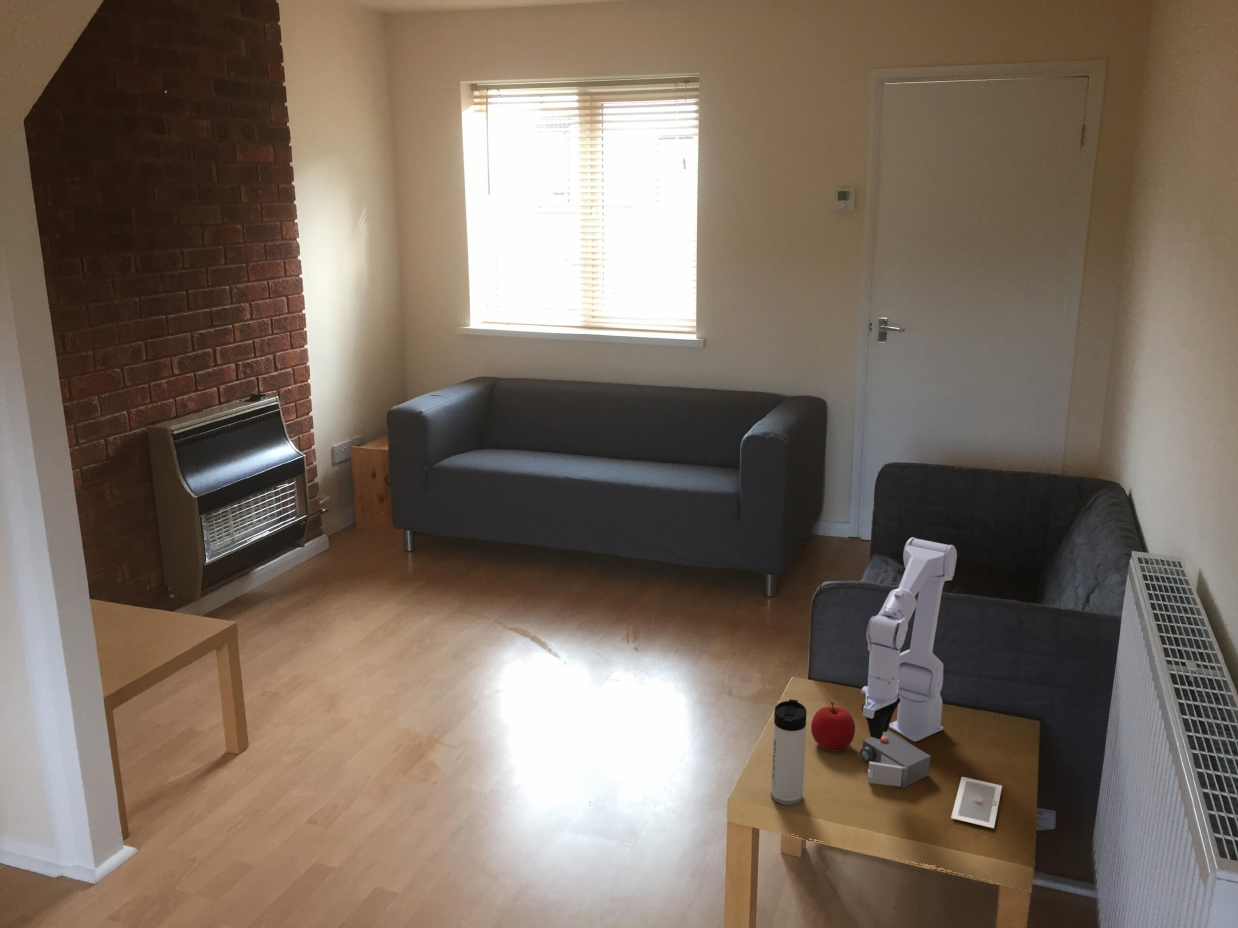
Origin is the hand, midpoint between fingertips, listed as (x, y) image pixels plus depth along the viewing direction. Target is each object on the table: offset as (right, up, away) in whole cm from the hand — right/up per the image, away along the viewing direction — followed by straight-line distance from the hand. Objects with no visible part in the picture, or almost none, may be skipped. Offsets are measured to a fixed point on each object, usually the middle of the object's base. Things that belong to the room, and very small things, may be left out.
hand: (878, 733), depth 213 cm
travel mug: (-19, -12, -2) cm, 23 cm away
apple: (-6, -7, +15) cm, 18 cm away
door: (+2, -11, +1) cm, 11 cm away
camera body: (+5, -9, +7) cm, 12 cm away
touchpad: (+18, -13, -5) cm, 23 cm away
